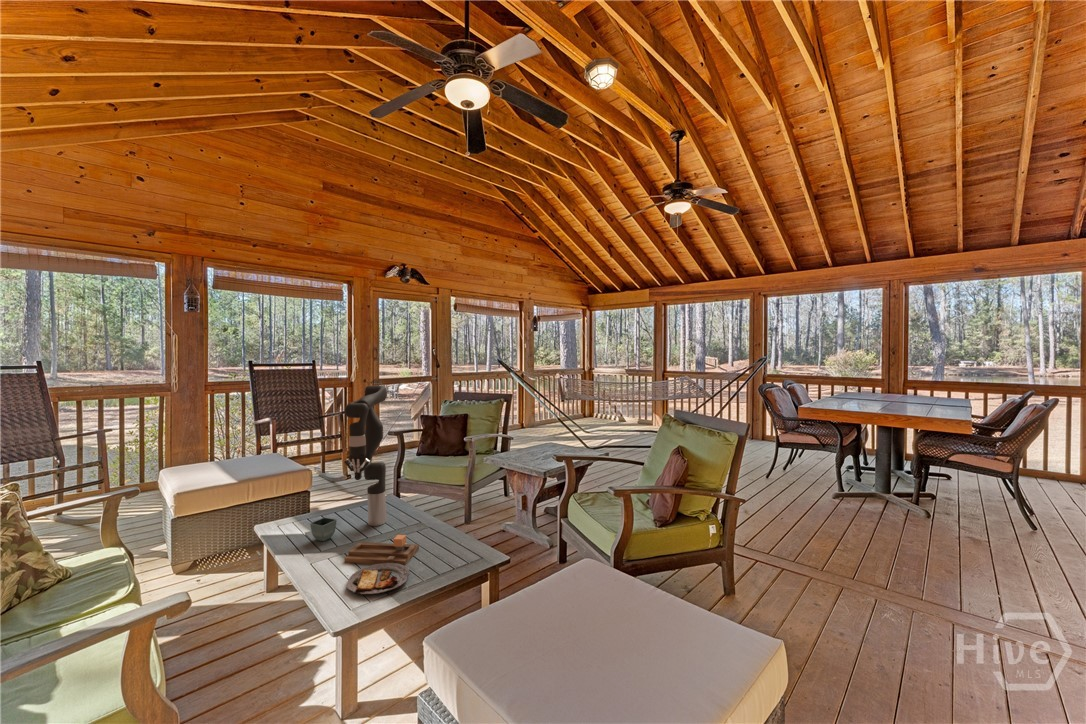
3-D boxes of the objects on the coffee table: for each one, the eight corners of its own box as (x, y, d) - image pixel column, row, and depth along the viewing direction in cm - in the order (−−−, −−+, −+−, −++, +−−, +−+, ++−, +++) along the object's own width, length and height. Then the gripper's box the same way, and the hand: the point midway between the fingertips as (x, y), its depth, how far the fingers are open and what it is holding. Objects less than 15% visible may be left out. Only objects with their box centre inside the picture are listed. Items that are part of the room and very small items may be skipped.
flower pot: (309, 541, 219) (309, 523, 219) (324, 534, 227) (324, 517, 227) (322, 544, 216) (322, 526, 216) (337, 536, 224) (337, 519, 224)
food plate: (403, 595, 170) (403, 586, 170) (339, 602, 167) (339, 593, 167) (412, 565, 195) (411, 558, 195) (356, 571, 191) (356, 563, 191)
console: (363, 546, 213) (362, 539, 213) (418, 548, 210) (418, 541, 210) (344, 562, 197) (344, 554, 197) (404, 565, 194) (404, 557, 194)
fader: (398, 549, 205) (397, 534, 205) (406, 549, 205) (406, 535, 205) (393, 553, 201) (393, 538, 200) (402, 554, 200) (401, 539, 200)
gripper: (374, 442, 217) (374, 477, 217) (348, 442, 218) (349, 477, 219) (366, 446, 209) (367, 482, 210) (340, 445, 211) (341, 481, 211)
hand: (358, 479), depth 214 cm, fingers closed
